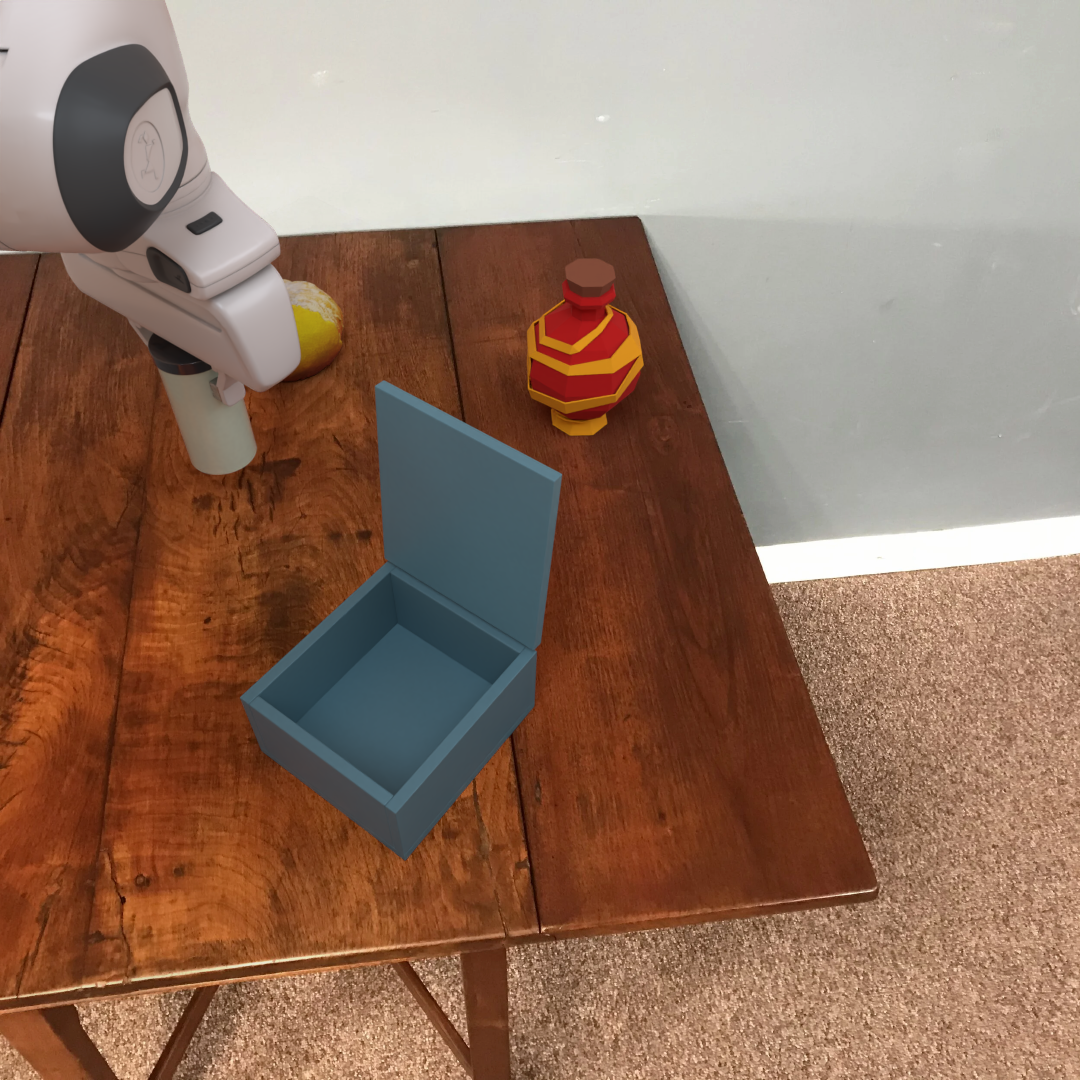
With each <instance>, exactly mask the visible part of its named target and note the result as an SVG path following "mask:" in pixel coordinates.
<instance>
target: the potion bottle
mask: <svg viewBox="0 0 1080 1080" xmlns="http://www.w3.org/2000/svg"><path fill="white" fill-rule="evenodd" d="M564 271H565V278H566V279H565V280H564V281H563V282H562V283H561V287H562V295H563V300H561V301H560V302H559V303H557V304H555V306H553V307H551V308H550V309H549V310H548V311H546V312H545V313H543V314H542V315H541V316H540V317H539V318H538V319H536V320H534V321H533V322H532V323H531V324H530V326H529V327H528V329H527V331H526V341H527V343H526V344H527V352H526V353H527V354H526V369H527V371H526V372H527V390H528V393H529V396H530V398H531V399H532V400H535V401H537V402H539V403H541V404H543V405H544V406H548V407H549V408H550V413H551V423H552V424H551V425H552V426H553V427H555V428H557V429H558V430H560V431H561V432H563V433H565V434H566V435H568V436H569V437H570V436H571V437H573V436H574V437H575V436H594V435H595V434H596V433H598V432H599V431H600V430H602V429H603V428H604V427H606V425H608V418H607V413H608V412H609V411H611V410H613V408H614V407H616V406H617V405H618V404H620V403H621V402H622V401H623V400H624V399H626V398H627V397H628V396H629V395H630V394H631V393H633V392H634V391H635V389H636V387H637V384H638V381H639V379H640V376H641V373H642V372H641V370H642V368H643V367H644V365H645V363H644V358H643V351H642V345H641V339H640V336H639V331H638V326H637V325H636V323H635V322H634V321H633V320H632V318H631V317H630V316H629V314H628V313H627V312H624V311H623V310H620V309H619V308H617V307H615V306H613V305H611V303H612V302H613V301H615V299H616V297H617V294H616V290H615V284H614V282H615V281H616V278H617V277H616V271H615V267H614V265H612V264H610V263H608V262H607V261H604V260H602V259H600V258H593V257H591V258H576V259H575V260H573V261H572V262H570V263H568V264H567V265H565V266H564Z"/></svg>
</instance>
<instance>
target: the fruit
mask: <svg viewBox="0 0 1080 1080" xmlns="http://www.w3.org/2000/svg"><path fill="white" fill-rule="evenodd" d="M282 279H283V281H284V283H285V285H286V288H287V290H288V294H289V297H290V301H291V305H292V309H293V313H294V318H295V322H296V327H297V332H298V337H299V343H300V350H301V360H300V363H299V365H298V366H297V368H296V369H295V370H294V371H293V372H292V373H291V374H290V375H289V376H287V377H286V378H285V379H283V380H282V381H281V382H296V381H299V380H301V381H304V380H306V378H310V377H314V376H316V375H318V374H319V373H321V371H322V370H324V369H326V368H327V367H330V366H331V365H332V363H333V362H334V361H335V358H336V357H338V354H339V353H340V351H342V348H343V346H344V343H343V340H342V333H343V332H344V328H345V325H344V324H345V323H344V320H345V319H344V313H343V312H342V309H341V307H340V305H338V304H337V302H336V301H335V299H334V298H332V297H331V295H330V294H328V293H326V292H325V291H324V290H323V289H321V288H319V287H318V286H317V285H316V284H314V283H312V282H309V281H307V280H305V281H304V280H294V281H292V280H290V279H286V278H282Z"/></svg>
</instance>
